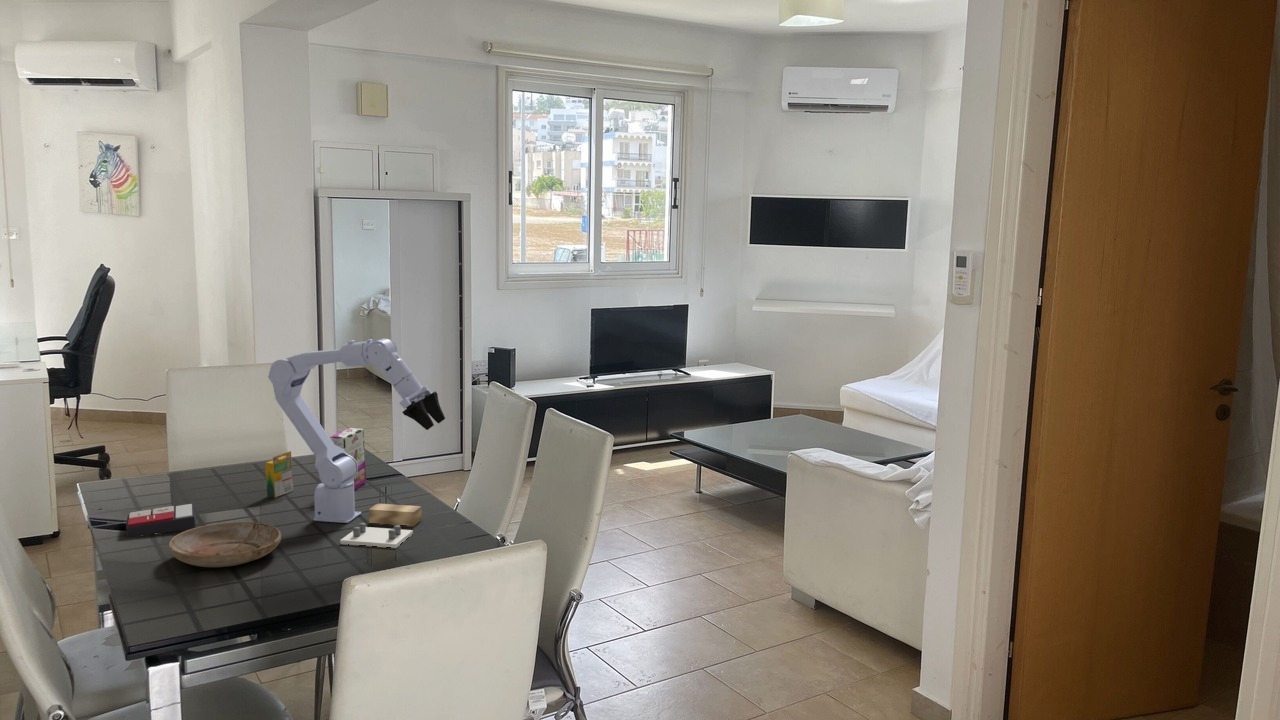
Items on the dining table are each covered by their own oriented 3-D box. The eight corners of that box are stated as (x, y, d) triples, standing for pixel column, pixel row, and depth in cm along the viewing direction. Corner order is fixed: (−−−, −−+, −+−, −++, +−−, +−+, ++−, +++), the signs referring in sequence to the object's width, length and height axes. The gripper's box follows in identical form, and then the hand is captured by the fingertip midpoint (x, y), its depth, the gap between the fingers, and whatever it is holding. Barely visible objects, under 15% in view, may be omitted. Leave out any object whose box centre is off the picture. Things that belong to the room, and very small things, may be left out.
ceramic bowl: (212, 585, 199) (210, 563, 198) (148, 562, 211) (146, 541, 210) (303, 553, 218) (302, 532, 217) (239, 534, 230) (238, 514, 230)
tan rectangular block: (369, 524, 239) (368, 509, 238) (377, 518, 244) (377, 503, 243) (414, 527, 237) (414, 512, 237) (421, 521, 242) (421, 506, 241)
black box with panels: (127, 511, 235) (193, 501, 242) (129, 527, 236) (195, 517, 242) (125, 524, 226) (194, 513, 232) (127, 541, 226) (196, 530, 233)
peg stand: (340, 544, 224) (339, 532, 223) (359, 530, 234) (359, 518, 233) (396, 548, 222) (395, 536, 221) (412, 534, 231) (412, 522, 231)
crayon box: (285, 489, 266) (283, 449, 265) (293, 491, 265) (291, 451, 264) (266, 496, 260) (264, 455, 258) (275, 498, 259) (273, 457, 257)
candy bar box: (350, 482, 275) (348, 427, 272) (366, 483, 274) (364, 428, 271) (330, 493, 264) (328, 436, 261) (347, 494, 263) (345, 437, 260)
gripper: (403, 376, 226) (437, 421, 227) (426, 366, 240) (458, 409, 241) (382, 393, 228) (415, 437, 228) (406, 382, 242) (438, 424, 242)
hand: (436, 424), depth 235 cm, fingers open, 7 cm apart
